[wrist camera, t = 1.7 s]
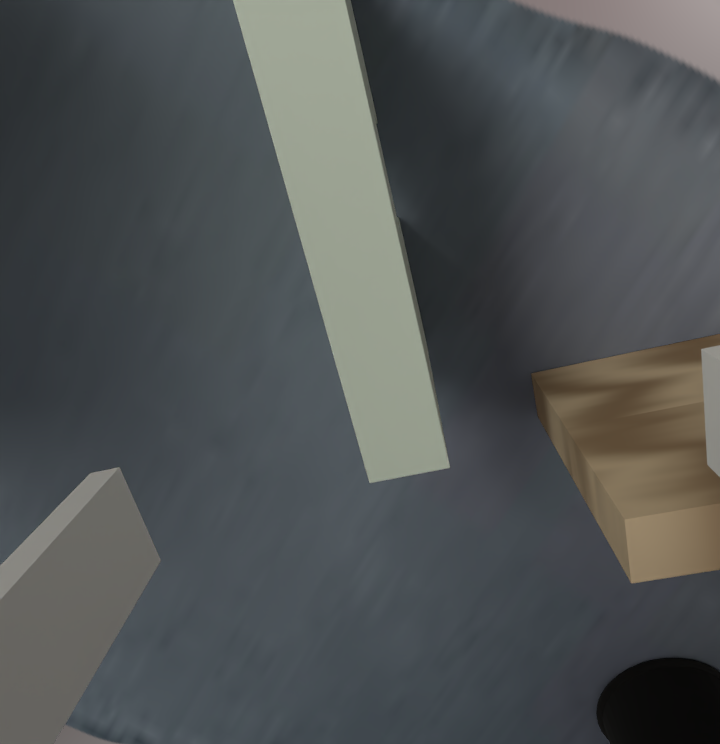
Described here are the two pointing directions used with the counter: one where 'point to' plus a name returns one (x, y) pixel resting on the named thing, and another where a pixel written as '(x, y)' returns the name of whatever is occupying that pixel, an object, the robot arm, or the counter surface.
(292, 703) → the counter surface
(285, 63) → the sage slotted plate
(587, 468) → the oak slotted board
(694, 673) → the aerosol can
